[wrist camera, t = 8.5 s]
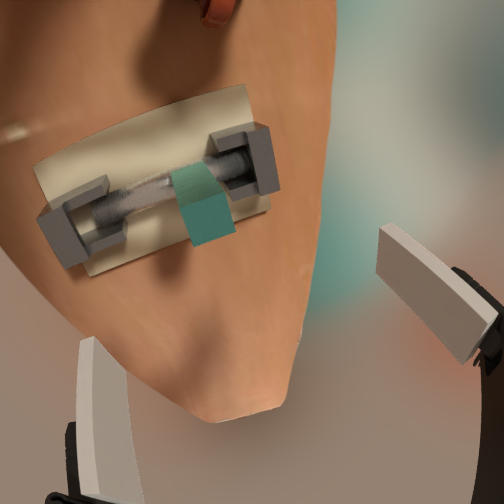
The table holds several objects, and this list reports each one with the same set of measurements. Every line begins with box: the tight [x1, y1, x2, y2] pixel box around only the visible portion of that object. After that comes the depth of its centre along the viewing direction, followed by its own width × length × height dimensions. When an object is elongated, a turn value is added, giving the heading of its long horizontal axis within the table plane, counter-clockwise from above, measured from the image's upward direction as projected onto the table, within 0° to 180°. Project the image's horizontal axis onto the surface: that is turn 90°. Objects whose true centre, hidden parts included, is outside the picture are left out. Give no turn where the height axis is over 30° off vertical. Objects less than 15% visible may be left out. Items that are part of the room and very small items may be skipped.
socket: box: [209, 121, 280, 202], centre depth 26 cm, size 6×4×4 cm
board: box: [33, 84, 271, 277], centre depth 27 cm, size 14×22×1 cm, turn 102°
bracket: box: [36, 174, 128, 269], centre depth 24 cm, size 6×7×4 cm
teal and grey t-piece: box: [91, 145, 251, 247], centre depth 23 cm, size 3×15×11 cm, turn 102°
